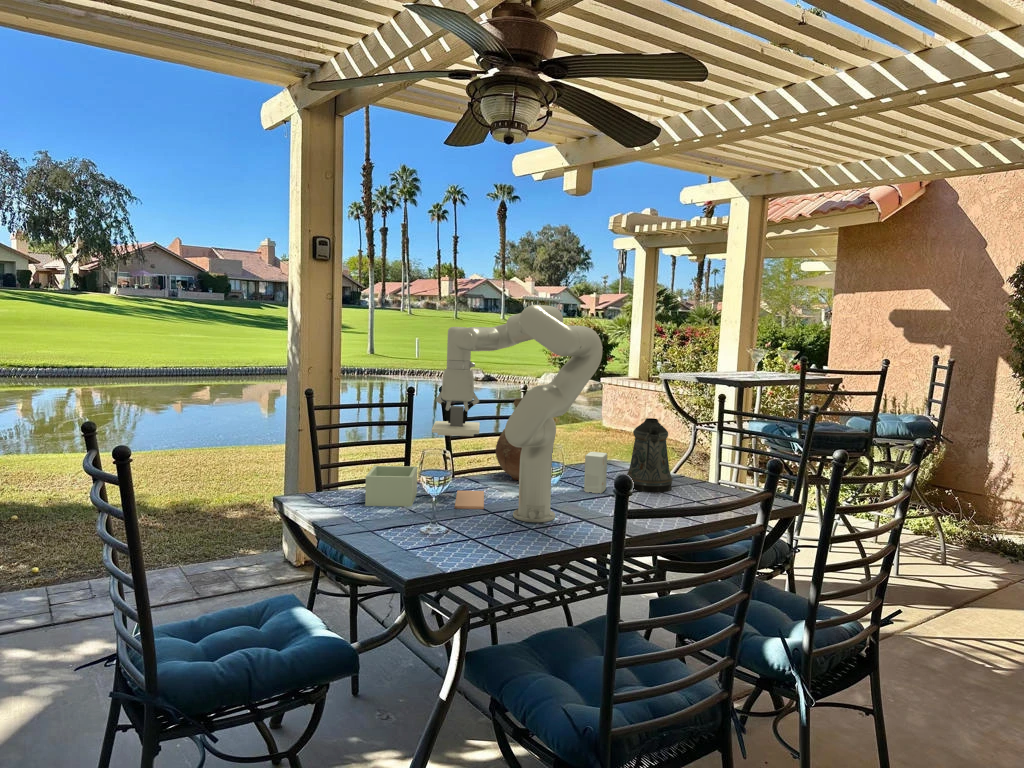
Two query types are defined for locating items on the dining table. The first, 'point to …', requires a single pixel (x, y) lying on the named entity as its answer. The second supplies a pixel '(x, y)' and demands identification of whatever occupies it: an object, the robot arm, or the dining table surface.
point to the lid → (456, 424)
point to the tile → (469, 500)
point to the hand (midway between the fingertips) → (456, 422)
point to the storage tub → (391, 486)
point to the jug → (509, 453)
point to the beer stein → (650, 458)
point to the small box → (595, 472)
